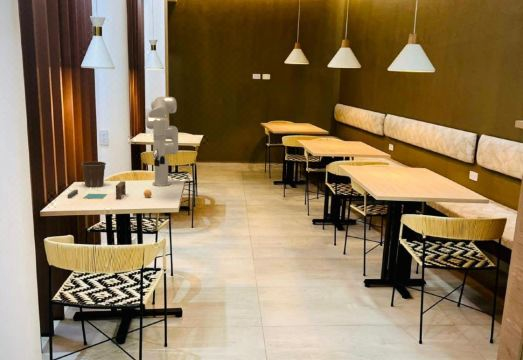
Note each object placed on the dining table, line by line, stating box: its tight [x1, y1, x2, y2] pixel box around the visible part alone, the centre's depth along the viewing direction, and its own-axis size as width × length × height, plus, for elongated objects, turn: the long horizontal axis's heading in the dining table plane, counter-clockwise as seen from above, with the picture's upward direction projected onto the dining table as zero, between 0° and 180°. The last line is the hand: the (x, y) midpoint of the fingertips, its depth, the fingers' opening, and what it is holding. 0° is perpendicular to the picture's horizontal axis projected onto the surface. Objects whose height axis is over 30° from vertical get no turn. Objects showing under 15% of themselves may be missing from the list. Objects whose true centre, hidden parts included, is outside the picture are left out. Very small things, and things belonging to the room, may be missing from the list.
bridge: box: [115, 180, 127, 200], centre depth 313 cm, size 3×14×9 cm, turn 3°
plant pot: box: [81, 161, 107, 189], centre depth 341 cm, size 16×16×16 cm
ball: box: [143, 189, 153, 199], centre depth 314 cm, size 5×5×5 cm
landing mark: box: [83, 193, 108, 200], centre depth 313 cm, size 12×12×1 cm
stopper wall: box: [67, 189, 79, 199], centre depth 311 cm, size 14×2×2 cm, turn 3°
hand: (159, 165), depth 310 cm, fingers open, 9 cm apart
